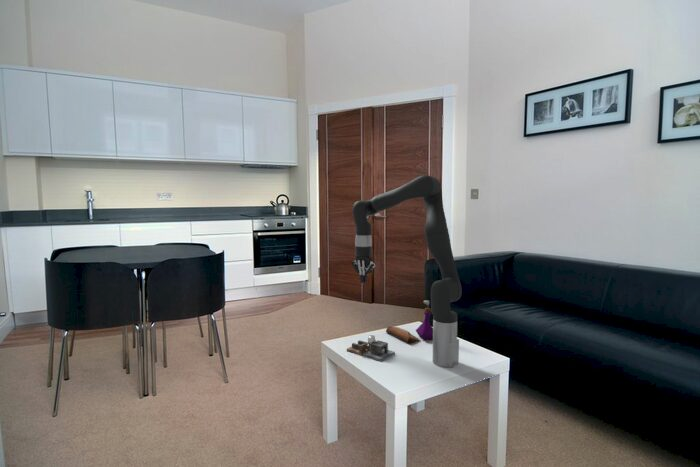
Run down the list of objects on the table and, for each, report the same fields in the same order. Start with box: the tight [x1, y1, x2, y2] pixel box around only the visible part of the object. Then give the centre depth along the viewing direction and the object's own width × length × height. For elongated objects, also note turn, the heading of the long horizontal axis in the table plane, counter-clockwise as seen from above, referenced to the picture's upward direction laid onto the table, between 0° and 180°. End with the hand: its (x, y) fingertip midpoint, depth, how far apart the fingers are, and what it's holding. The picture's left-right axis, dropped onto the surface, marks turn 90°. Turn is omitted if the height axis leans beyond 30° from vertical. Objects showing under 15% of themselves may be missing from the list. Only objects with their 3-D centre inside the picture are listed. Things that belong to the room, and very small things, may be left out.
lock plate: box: [346, 339, 396, 362], centre depth 166 cm, size 18×10×5 cm, turn 51°
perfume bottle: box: [415, 300, 433, 341], centre depth 182 cm, size 8×8×18 cm
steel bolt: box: [366, 334, 385, 354], centre depth 164 cm, size 8×3×6 cm, turn 51°
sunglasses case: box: [385, 325, 421, 345], centre depth 185 cm, size 18×7×7 cm, turn 29°
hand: (363, 282), depth 179 cm, fingers closed
